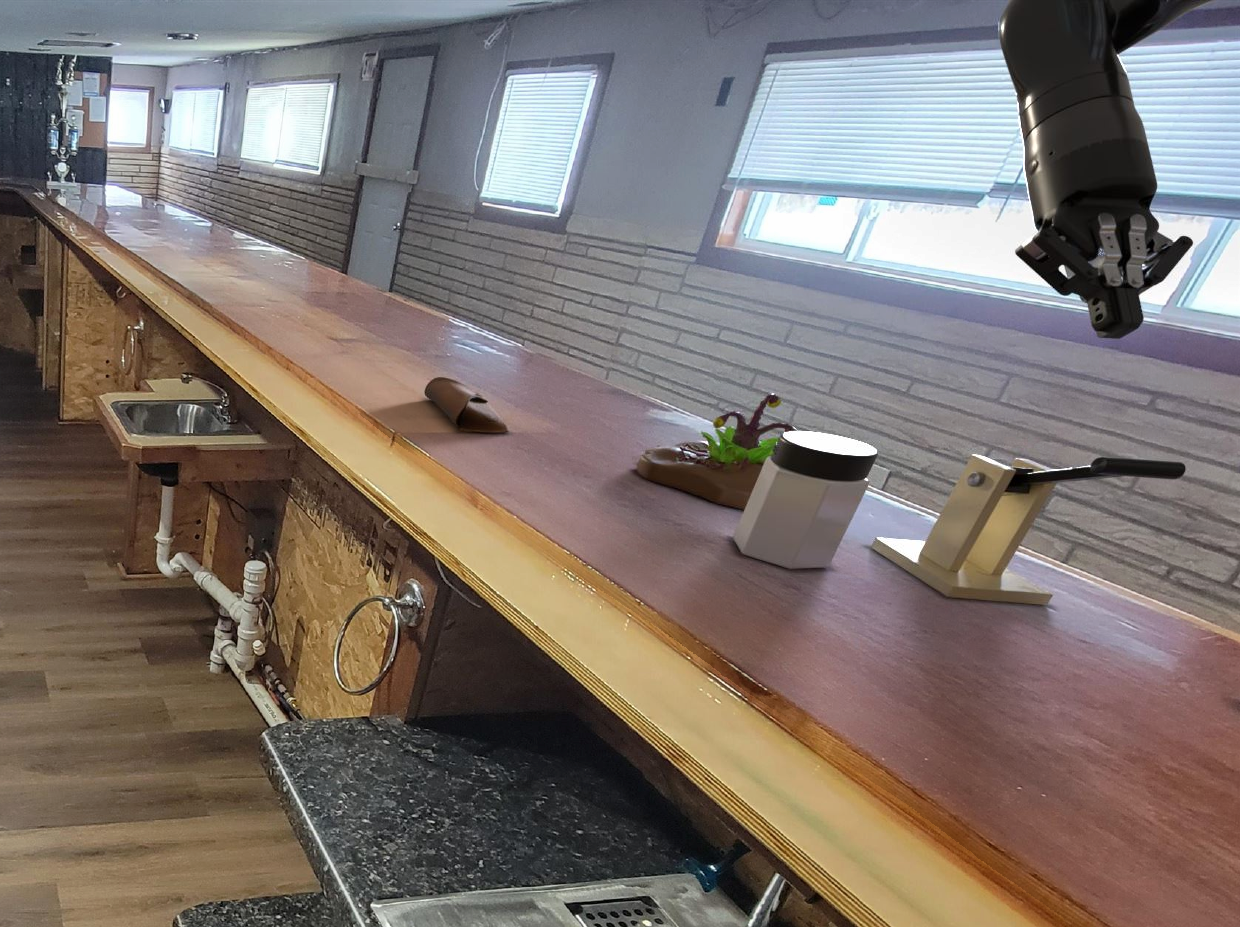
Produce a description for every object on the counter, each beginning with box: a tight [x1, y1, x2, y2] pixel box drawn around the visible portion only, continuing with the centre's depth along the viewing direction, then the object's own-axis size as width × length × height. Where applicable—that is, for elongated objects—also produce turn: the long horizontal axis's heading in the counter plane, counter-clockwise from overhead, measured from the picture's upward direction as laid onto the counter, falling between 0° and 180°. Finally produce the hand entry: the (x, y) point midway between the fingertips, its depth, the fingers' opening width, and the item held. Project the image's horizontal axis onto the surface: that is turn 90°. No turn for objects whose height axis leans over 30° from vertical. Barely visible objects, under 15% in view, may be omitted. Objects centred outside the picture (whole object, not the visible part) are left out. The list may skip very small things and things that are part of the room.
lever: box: [1002, 456, 1187, 496], centre depth 81 cm, size 14×6×2 cm, turn 173°
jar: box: [732, 430, 879, 570], centre depth 91 cm, size 9×8×12 cm
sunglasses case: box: [423, 376, 509, 434], centre depth 136 cm, size 18×7×7 cm
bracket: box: [870, 454, 1058, 606], centre depth 88 cm, size 12×9×12 cm
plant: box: [636, 393, 798, 511], centre depth 111 cm, size 20×20×11 cm
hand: (1120, 332), depth 77 cm, fingers closed
